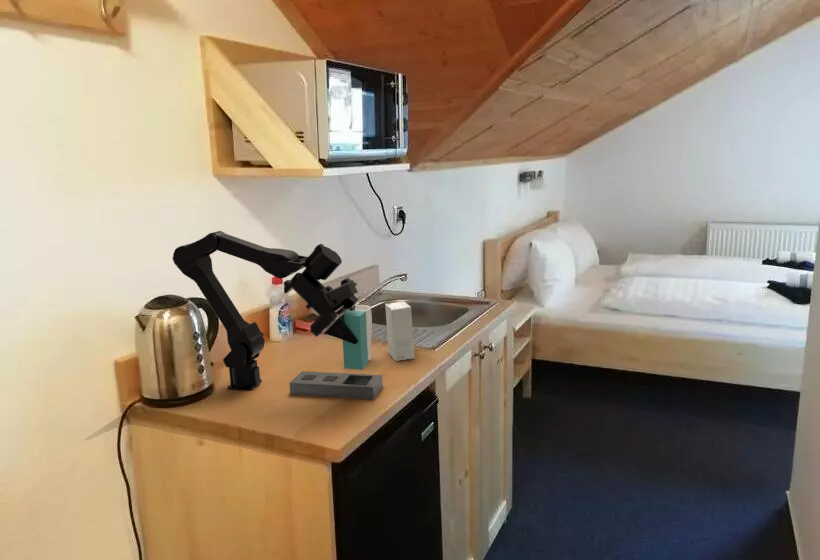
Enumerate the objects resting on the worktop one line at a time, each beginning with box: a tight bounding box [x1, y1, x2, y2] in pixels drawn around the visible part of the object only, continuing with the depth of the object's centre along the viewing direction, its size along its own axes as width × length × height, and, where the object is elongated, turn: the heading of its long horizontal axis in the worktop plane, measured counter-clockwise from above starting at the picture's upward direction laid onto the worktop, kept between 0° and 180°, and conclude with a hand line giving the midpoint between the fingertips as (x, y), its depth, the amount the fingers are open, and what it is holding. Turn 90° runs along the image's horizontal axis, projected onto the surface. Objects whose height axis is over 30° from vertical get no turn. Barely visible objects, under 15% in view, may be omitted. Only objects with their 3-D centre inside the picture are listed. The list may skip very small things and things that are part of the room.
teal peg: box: [342, 311, 369, 371], centre depth 151 cm, size 4×4×13 cm
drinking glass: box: [354, 304, 373, 362], centre depth 175 cm, size 7×7×15 cm
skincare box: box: [384, 301, 416, 362], centre depth 178 cm, size 8×6×15 cm
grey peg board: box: [289, 370, 384, 400], centre depth 156 cm, size 21×8×3 cm, turn 77°
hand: (360, 339), depth 151 cm, fingers closed on teal peg, 4 cm apart
